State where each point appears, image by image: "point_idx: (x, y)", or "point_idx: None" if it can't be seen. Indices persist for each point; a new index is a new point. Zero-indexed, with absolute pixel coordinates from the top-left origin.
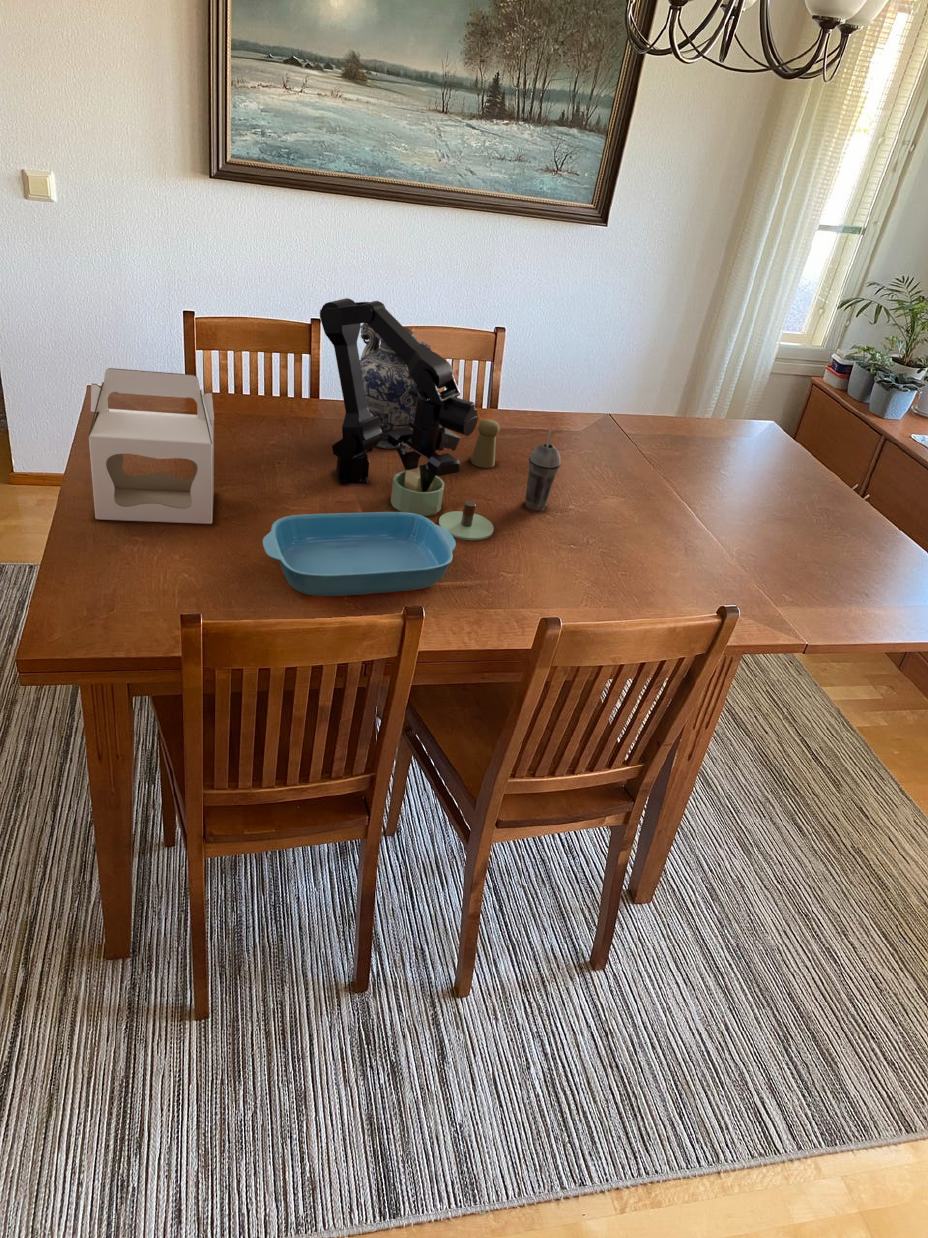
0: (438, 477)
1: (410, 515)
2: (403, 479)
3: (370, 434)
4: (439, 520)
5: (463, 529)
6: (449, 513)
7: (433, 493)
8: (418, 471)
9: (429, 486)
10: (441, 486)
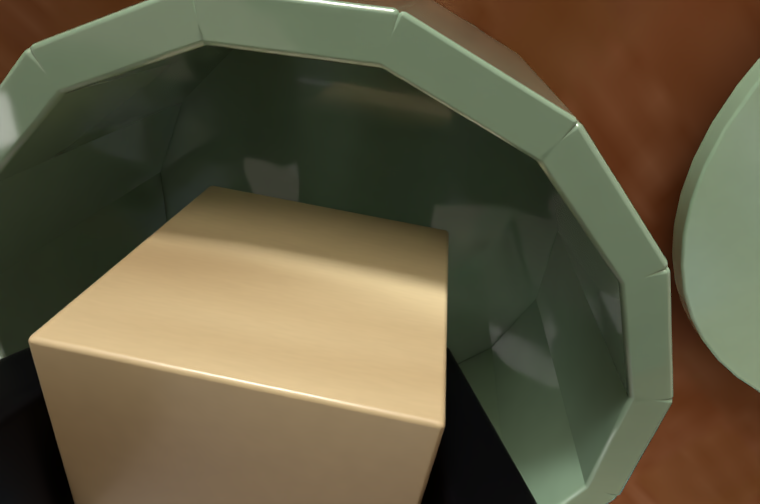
0: (315, 12)
1: None
2: (71, 285)
3: None
4: (714, 348)
5: None
6: (730, 177)
7: (629, 468)
8: (179, 491)
9: (473, 393)
10: (602, 258)
